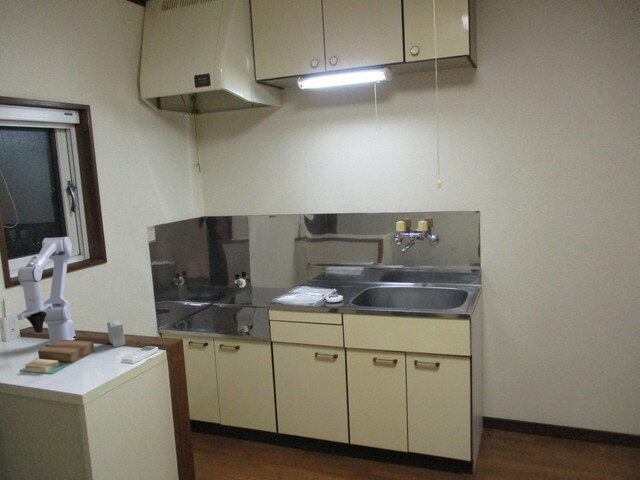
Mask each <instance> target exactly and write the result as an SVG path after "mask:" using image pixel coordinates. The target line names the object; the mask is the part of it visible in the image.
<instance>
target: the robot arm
mask: <svg viewBox="0 0 640 480" xmlns="http://www.w3.org/2000/svg"><path fill="white" fill-rule="evenodd" d="M41 245H42V246H41V247H42V248H41V249H40V251H39V253H38V254H35V255H33V256H32V257H31V258H30V260H28V262H27V264H26V265H25V266H23V267H21V268H20V269H18V271H17V280H18V281H19V283H20V286H21V288H22V290H23V297H24V301H25V308H26V309H25V310H24V311H22V312H21V313H19V314H17V315H16V317H17V320H18V321H23V320H24V319H26V320H27V321H28V322H29V323H30V324H31V326H32V328H33V331H34V332H35V333H37V334H38V333H39V334H40V333H42V332H43V330H44V329H43V327H44V323H45V325H47V329H48V335H49V342H47V343H45V346H50V345H52V344H54V343H56V342H58V341H60V340H76V339H75V338H73V337H74V336H76V329H75V324H74V322H73V320H72V319H71V315H72V311H71V303H70V302H69V301H68V300H67V299H65V289H66V288H65V287H66V282H67V281H66V279H67V270H68V260H69V259H70V258H71V257H72V249H73V244H72V241H71V239H70V237H69V236H60V237H59V236H58V237H45V238H43V240H42V242H41ZM48 259H49V260H52V261H53V270H52V278H51V286H50V296H49V297H50V298H49V297H48V298H49V299H46V300H45V301H43V294H42V289H41V288H42V287H41V282H40V281H41V280H42V276H43V272H44V269H45V268H46V266H47V265H48V264H49V263H48Z"/></svg>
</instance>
